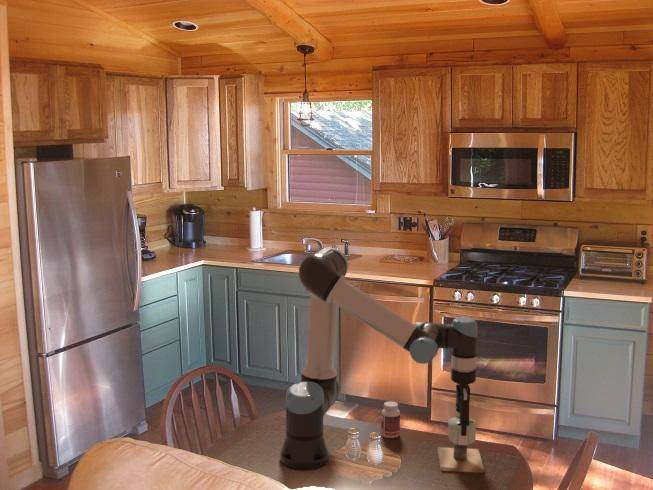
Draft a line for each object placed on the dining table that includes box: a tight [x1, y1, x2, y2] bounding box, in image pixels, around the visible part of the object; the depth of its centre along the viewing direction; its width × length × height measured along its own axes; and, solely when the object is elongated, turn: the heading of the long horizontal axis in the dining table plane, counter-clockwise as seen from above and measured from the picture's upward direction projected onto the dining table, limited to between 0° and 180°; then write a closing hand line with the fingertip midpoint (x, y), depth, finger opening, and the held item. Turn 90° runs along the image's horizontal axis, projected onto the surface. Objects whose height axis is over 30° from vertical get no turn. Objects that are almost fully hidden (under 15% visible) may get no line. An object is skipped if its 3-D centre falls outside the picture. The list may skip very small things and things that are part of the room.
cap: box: [447, 416, 477, 445], centre depth 238 cm, size 8×8×6 cm
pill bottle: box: [380, 401, 401, 439], centre depth 258 cm, size 6×6×11 cm
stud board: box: [436, 443, 485, 474], centre depth 239 cm, size 13×14×5 cm
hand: (461, 438), depth 238 cm, fingers closed on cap, 8 cm apart
